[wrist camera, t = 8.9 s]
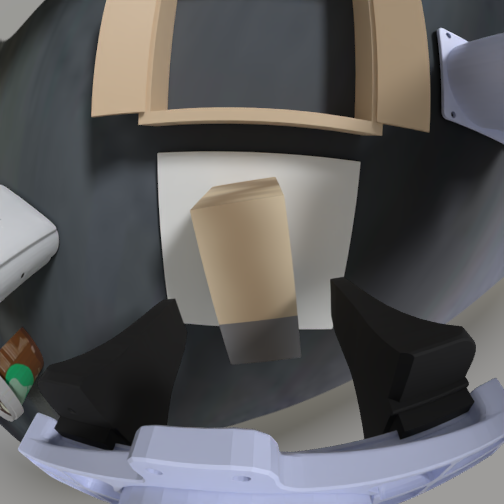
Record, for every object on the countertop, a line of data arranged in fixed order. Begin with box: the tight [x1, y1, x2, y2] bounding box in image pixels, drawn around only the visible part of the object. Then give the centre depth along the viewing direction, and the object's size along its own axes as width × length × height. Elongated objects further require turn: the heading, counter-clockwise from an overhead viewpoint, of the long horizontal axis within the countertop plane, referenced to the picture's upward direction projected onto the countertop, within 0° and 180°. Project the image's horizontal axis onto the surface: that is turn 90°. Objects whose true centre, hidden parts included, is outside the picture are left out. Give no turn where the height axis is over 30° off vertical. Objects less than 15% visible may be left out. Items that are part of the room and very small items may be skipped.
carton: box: [91, 0, 430, 136], centre depth 11 cm, size 18×13×5 cm
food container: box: [0, 327, 44, 421], centre depth 21 cm, size 12×6×10 cm, turn 134°
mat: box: [157, 151, 361, 329], centre depth 19 cm, size 13×13×1 cm
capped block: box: [190, 177, 301, 365], centre depth 16 cm, size 4×9×6 cm, turn 9°
